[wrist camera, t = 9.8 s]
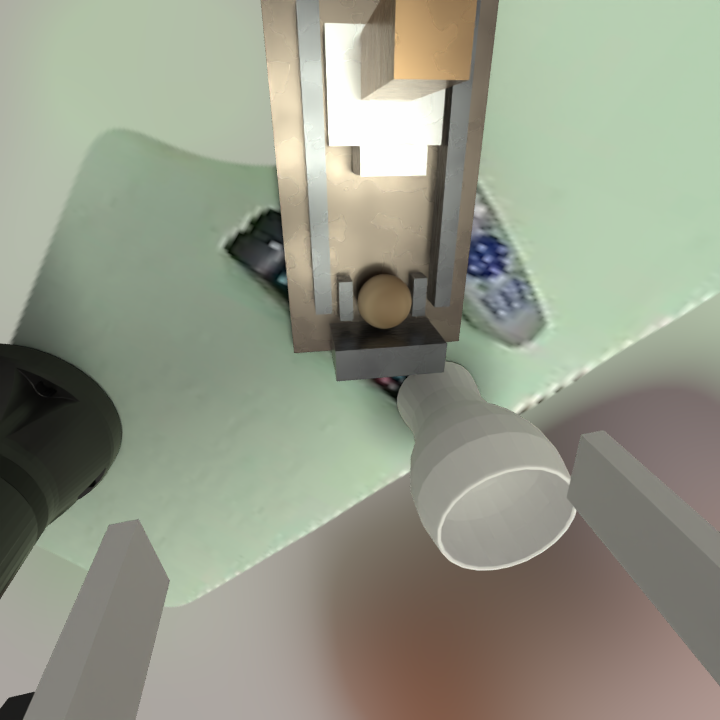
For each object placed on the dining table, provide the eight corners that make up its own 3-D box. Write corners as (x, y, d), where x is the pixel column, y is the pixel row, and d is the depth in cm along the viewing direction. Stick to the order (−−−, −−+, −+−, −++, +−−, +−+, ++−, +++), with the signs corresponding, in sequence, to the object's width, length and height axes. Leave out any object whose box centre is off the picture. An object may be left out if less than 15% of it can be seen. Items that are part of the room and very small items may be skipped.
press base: (294, 345, 34) (294, 384, 29) (258, -34, 23) (247, -93, 17) (452, 333, 36) (482, 369, 30) (491, -24, 25) (550, -74, 19)
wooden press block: (328, 173, 27) (346, 187, 18) (323, 28, 23) (342, -44, 14) (433, 171, 28) (500, 183, 19) (443, 31, 24) (531, -35, 15)
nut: (354, 318, 32) (361, 339, 29) (353, 269, 31) (361, 285, 27) (403, 315, 33) (416, 335, 29) (405, 266, 31) (419, 282, 28)
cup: (358, 398, 38) (394, 533, 25) (447, 323, 36) (538, 428, 22) (426, 456, 43) (485, 595, 29) (508, 393, 40) (612, 513, 27)
